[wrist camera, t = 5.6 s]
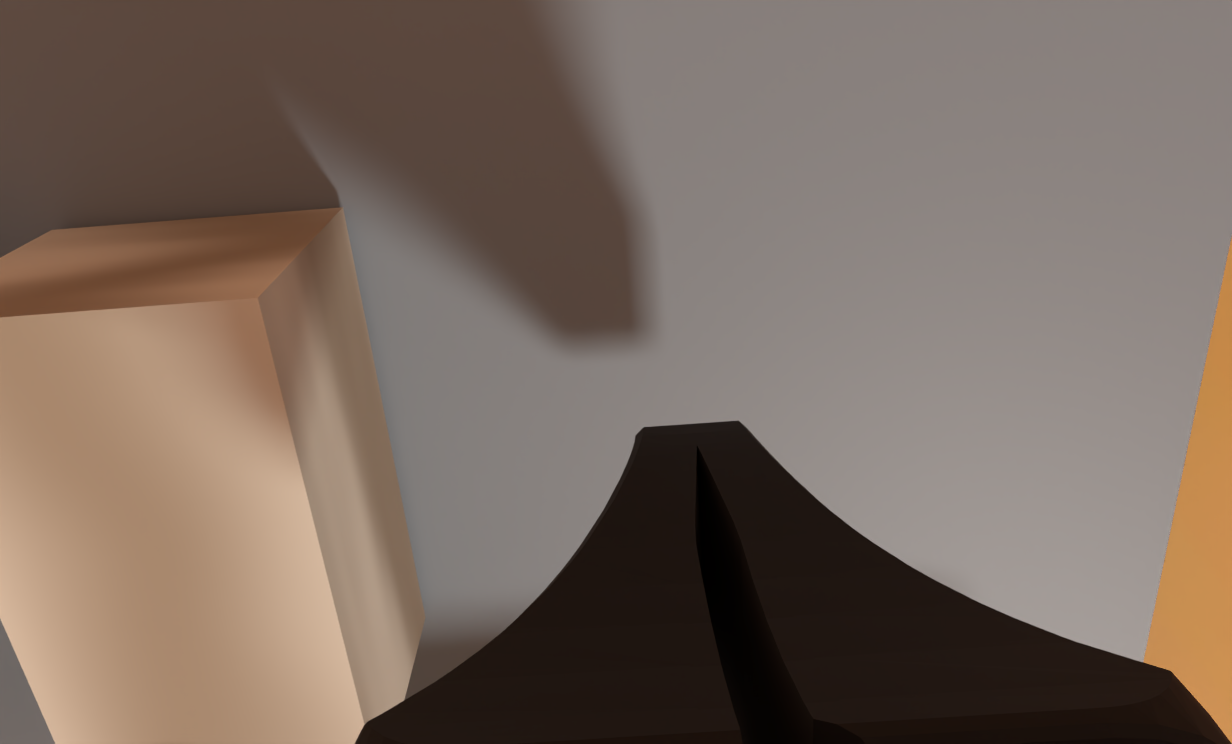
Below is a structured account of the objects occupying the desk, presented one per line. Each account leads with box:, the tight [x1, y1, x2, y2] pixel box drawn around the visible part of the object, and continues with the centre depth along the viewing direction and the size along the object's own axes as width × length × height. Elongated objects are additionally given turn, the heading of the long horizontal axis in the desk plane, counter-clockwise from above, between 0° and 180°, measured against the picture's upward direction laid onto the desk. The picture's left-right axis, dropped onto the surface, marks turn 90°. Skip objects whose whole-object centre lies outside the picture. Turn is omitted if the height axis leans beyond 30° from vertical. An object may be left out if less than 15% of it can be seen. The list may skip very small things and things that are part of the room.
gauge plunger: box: [0, 207, 425, 744], centre depth 13 cm, size 4×11×5 cm, turn 4°
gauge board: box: [0, 0, 1232, 744], centre depth 13 cm, size 22×20×6 cm
